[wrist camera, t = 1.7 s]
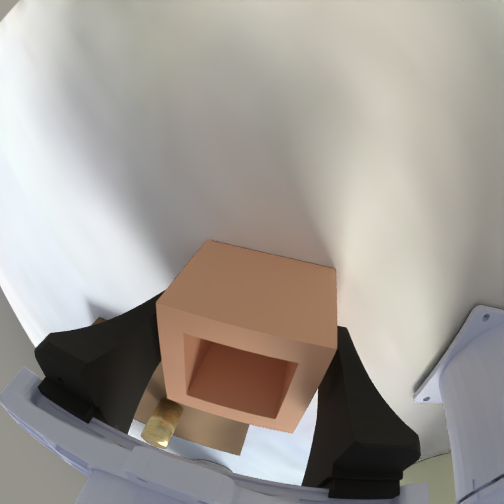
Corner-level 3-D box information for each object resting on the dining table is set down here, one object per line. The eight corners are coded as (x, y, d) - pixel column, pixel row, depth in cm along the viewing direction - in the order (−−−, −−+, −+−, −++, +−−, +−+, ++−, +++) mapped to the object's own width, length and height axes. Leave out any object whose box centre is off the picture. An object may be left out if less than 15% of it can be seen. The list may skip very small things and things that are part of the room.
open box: (335, 269, 13) (337, 348, 9) (304, 358, 16) (292, 433, 11) (207, 239, 14) (155, 302, 9) (202, 332, 17) (167, 398, 12)
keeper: (264, 371, 17) (246, 435, 13) (242, 445, 23) (229, 487, 19) (98, 317, 19) (60, 360, 14) (126, 404, 24) (104, 439, 20)
